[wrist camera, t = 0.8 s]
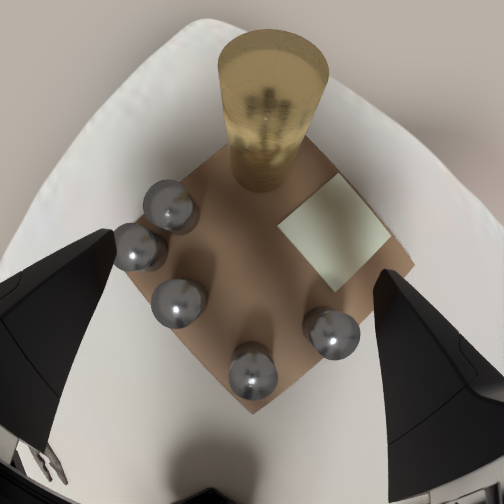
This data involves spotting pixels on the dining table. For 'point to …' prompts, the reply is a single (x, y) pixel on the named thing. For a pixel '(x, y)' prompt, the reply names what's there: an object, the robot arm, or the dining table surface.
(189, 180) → the walnut board
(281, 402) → the dining table surface
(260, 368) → the spacer posts
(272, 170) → the disc
